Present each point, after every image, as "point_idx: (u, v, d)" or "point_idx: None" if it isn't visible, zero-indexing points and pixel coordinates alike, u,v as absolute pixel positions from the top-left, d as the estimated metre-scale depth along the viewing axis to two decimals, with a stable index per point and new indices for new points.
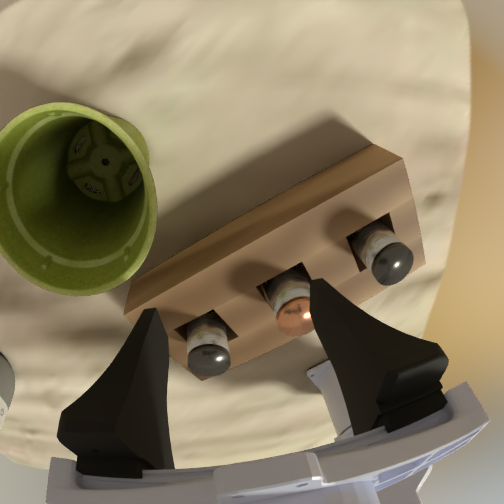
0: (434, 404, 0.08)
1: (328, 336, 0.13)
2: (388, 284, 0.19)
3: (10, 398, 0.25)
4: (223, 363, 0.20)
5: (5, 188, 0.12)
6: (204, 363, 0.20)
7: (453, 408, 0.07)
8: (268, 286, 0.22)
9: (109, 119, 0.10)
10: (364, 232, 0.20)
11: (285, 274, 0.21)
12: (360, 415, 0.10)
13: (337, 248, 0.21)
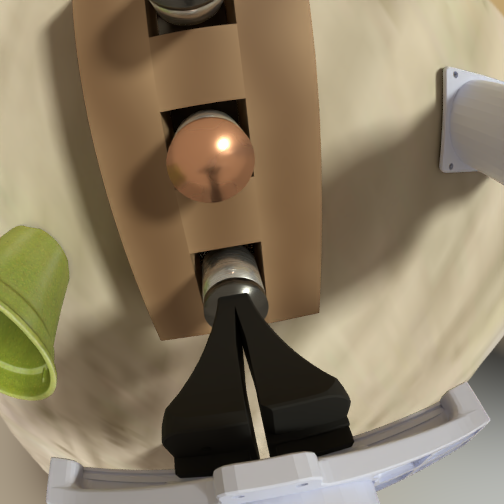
0: (336, 442, 0.07)
1: (246, 353, 0.12)
2: None
3: None
4: None
5: None
6: None
7: (453, 408, 0.07)
8: None
9: None
10: (154, 7, 0.09)
11: None
12: (266, 439, 0.09)
13: (162, 53, 0.10)
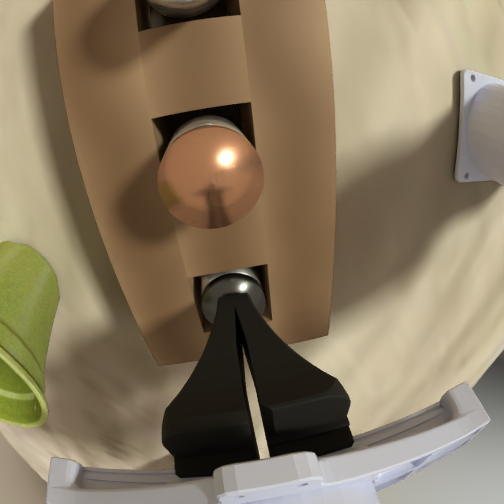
0: (336, 442, 0.07)
1: (246, 353, 0.12)
2: None
3: None
4: (243, 290, 0.14)
5: None
6: None
7: (453, 408, 0.07)
8: None
9: None
10: None
11: None
12: (266, 439, 0.09)
13: (153, 49, 0.08)
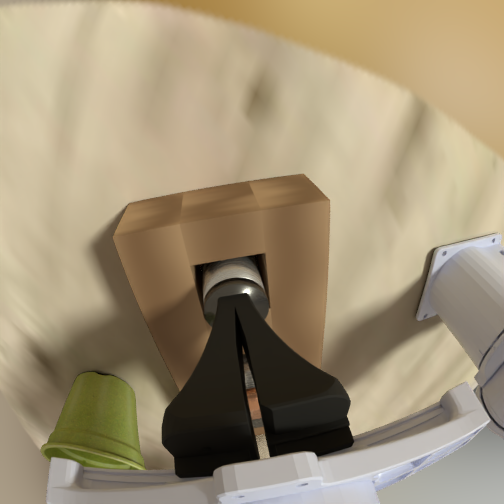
0: (336, 442, 0.07)
1: (246, 353, 0.12)
2: None
3: None
4: None
5: (85, 462, 0.20)
6: (255, 421, 0.23)
7: (453, 408, 0.07)
8: None
9: (49, 445, 0.15)
10: None
11: None
12: (266, 439, 0.09)
13: None
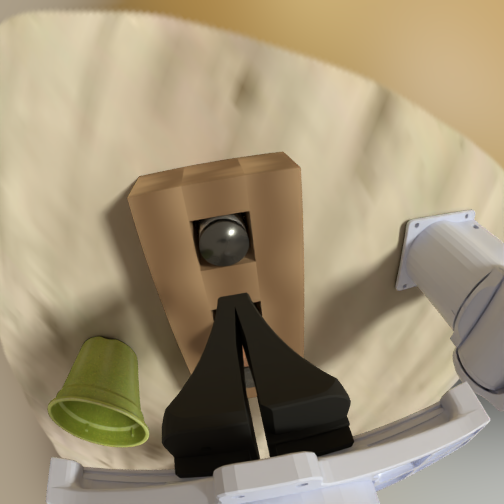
0: (336, 442, 0.07)
1: (246, 353, 0.12)
2: (244, 253, 0.19)
3: None
4: None
5: (88, 425, 0.24)
6: (247, 380, 0.26)
7: (453, 408, 0.07)
8: None
9: (57, 400, 0.18)
10: None
11: None
12: (266, 439, 0.09)
13: (210, 280, 0.20)
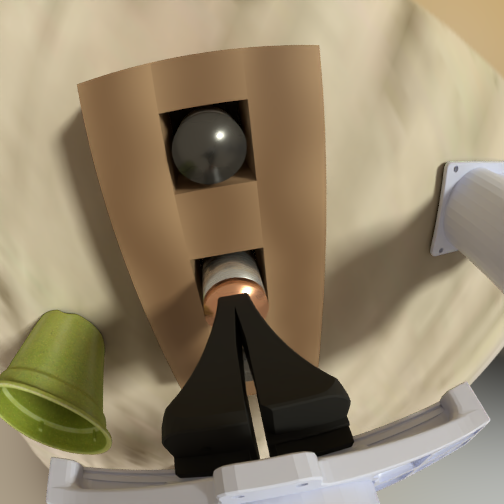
0: (336, 442, 0.07)
1: (246, 353, 0.12)
2: (240, 163, 0.12)
3: None
4: None
5: (43, 424, 0.17)
6: None
7: (453, 408, 0.07)
8: None
9: None
10: None
11: (202, 271, 0.16)
12: (266, 439, 0.09)
13: (188, 210, 0.13)
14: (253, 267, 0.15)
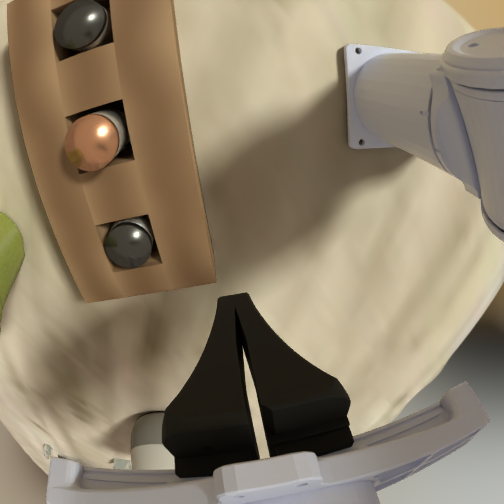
0: (336, 442, 0.07)
1: (246, 353, 0.12)
2: (98, 28, 0.11)
3: None
4: (132, 234, 0.18)
5: None
6: (125, 251, 0.18)
7: (453, 408, 0.07)
8: None
9: None
10: None
11: None
12: (266, 439, 0.09)
13: (64, 73, 0.12)
14: (116, 116, 0.15)
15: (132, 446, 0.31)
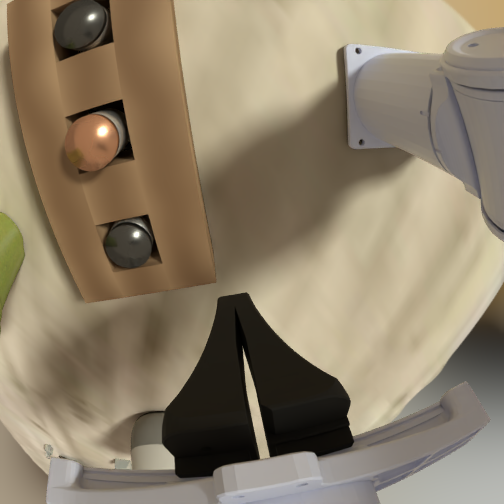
0: (336, 442, 0.07)
1: (246, 353, 0.12)
2: (98, 28, 0.11)
3: None
4: (132, 234, 0.18)
5: None
6: (125, 251, 0.18)
7: (453, 408, 0.07)
8: None
9: None
10: None
11: None
12: (266, 439, 0.09)
13: (64, 73, 0.12)
14: (116, 116, 0.15)
15: (132, 447, 0.31)
